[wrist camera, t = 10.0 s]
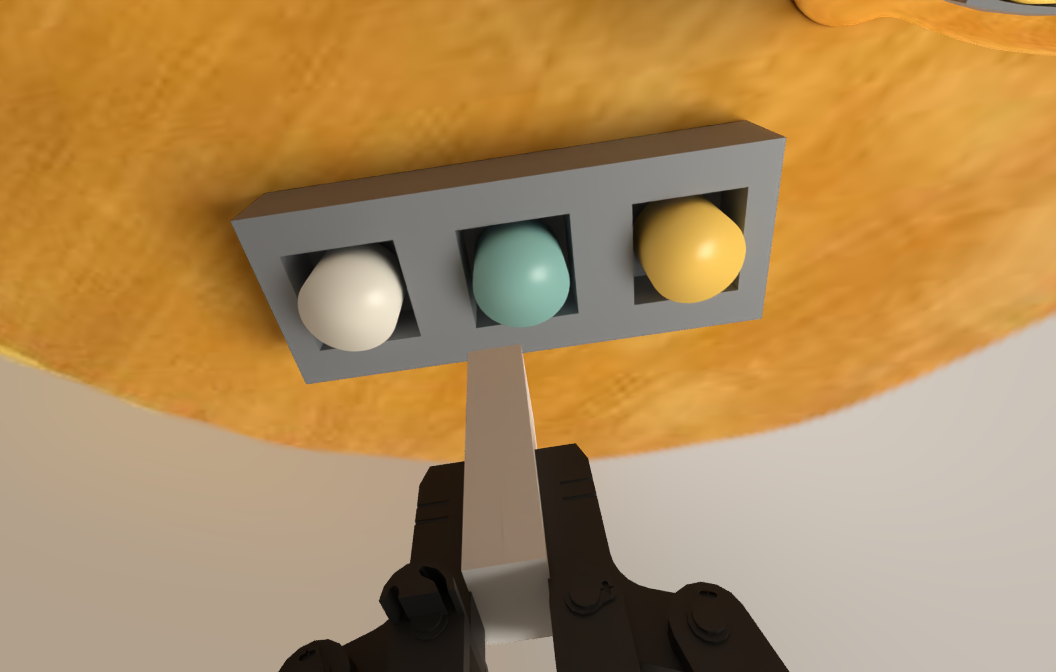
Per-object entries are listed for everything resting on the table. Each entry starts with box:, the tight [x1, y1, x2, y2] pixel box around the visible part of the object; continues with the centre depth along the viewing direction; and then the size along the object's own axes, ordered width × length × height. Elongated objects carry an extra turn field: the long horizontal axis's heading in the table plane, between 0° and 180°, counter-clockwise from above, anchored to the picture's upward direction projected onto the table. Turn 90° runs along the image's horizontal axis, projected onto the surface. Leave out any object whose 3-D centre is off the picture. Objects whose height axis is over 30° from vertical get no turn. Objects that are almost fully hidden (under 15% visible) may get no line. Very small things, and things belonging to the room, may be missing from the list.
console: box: [230, 120, 786, 384], centre depth 26 cm, size 24×9×4 cm, turn 98°
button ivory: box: [298, 242, 407, 351], centre depth 25 cm, size 4×4×3 cm
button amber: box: [633, 194, 746, 303], centre depth 25 cm, size 4×4×3 cm
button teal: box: [473, 218, 570, 327], centre depth 25 cm, size 4×4×3 cm
